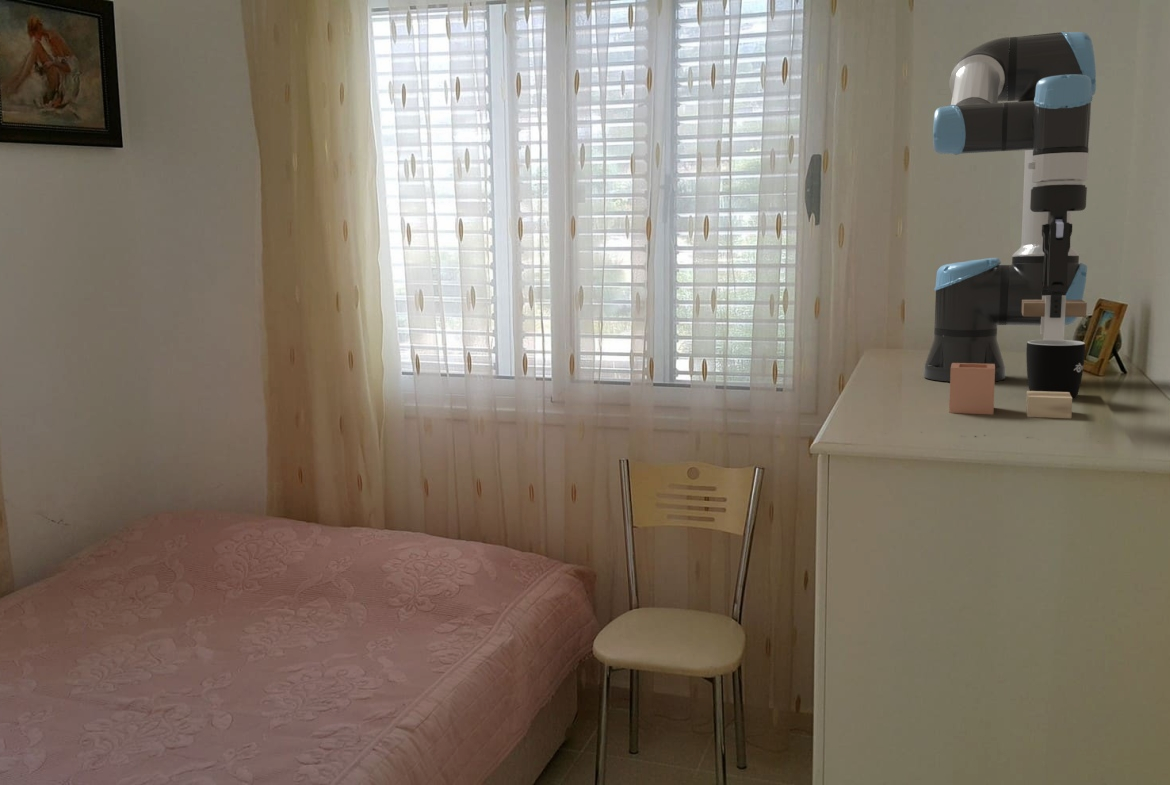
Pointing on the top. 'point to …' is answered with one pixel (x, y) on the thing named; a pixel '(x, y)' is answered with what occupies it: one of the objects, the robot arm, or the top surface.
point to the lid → (1038, 308)
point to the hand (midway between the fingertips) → (1051, 337)
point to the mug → (1055, 365)
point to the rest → (1049, 404)
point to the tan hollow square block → (972, 388)
